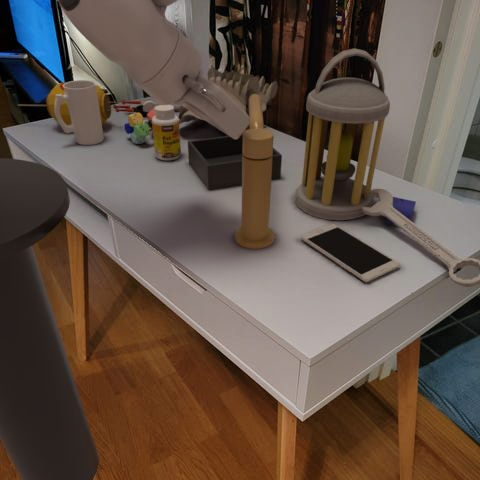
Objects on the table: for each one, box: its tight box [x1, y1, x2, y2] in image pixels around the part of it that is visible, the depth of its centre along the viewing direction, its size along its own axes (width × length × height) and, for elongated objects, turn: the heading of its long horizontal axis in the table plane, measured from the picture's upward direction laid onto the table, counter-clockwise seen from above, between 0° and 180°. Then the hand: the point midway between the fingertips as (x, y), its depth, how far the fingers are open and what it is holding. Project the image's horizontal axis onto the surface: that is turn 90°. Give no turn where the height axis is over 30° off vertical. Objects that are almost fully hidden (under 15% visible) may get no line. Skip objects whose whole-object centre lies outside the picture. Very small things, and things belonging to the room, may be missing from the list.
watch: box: [135, 100, 159, 119], centre depth 124 cm, size 8×5×4 cm, turn 108°
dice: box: [123, 112, 150, 145], centre depth 109 cm, size 8×3×6 cm, turn 36°
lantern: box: [294, 48, 391, 221], centre depth 81 cm, size 14×14×25 cm
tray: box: [187, 134, 283, 191], centre depth 98 cm, size 15×13×5 cm
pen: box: [128, 105, 182, 114], centre depth 126 cm, size 1×16×1 cm, turn 102°
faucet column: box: [234, 155, 275, 250], centre depth 75 cm, size 6×6×14 cm
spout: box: [242, 94, 275, 159], centre depth 78 cm, size 24×4×5 cm, turn 0°
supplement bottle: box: [152, 104, 182, 162], centre depth 102 cm, size 6×6×10 cm
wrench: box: [361, 188, 480, 288], centre depth 77 cm, size 26×6×2 cm, turn 30°
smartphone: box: [300, 223, 401, 283], centre depth 76 cm, size 8×1×15 cm
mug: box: [54, 79, 105, 146], centre depth 107 cm, size 10×7×12 cm, turn 130°
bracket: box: [382, 196, 417, 226], centre depth 85 cm, size 9×5×3 cm, turn 158°
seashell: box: [178, 68, 279, 125], centre depth 117 cm, size 28×18×15 cm, turn 132°
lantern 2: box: [17, 81, 142, 127], centre depth 115 cm, size 10×10×30 cm
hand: (231, 130), depth 77 cm, fingers closed
